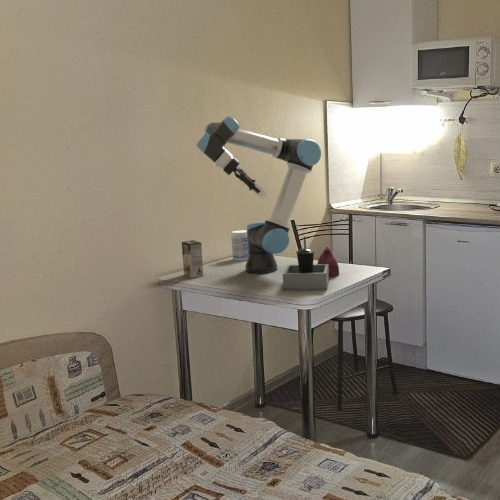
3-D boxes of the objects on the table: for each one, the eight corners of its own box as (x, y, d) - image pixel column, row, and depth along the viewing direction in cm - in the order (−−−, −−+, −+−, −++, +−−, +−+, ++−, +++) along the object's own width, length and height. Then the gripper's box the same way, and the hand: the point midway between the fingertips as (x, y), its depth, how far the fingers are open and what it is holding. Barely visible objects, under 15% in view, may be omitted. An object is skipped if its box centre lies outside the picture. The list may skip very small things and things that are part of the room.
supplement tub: (247, 261, 354) (245, 233, 351) (229, 261, 357) (228, 232, 355) (253, 257, 363) (252, 229, 360) (236, 257, 366) (235, 229, 364)
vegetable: (337, 284, 309) (340, 253, 302) (314, 281, 311) (316, 251, 304) (339, 273, 318) (342, 243, 312) (317, 270, 320) (319, 241, 314)
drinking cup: (296, 281, 299) (294, 235, 296) (313, 280, 300) (311, 234, 297) (299, 285, 292) (297, 238, 288) (317, 284, 293) (315, 237, 289)
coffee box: (183, 275, 330) (180, 241, 327) (195, 273, 333) (193, 239, 330) (191, 278, 322) (189, 244, 319) (204, 276, 326) (201, 242, 323)
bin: (287, 280, 307) (287, 265, 306) (329, 279, 304) (328, 264, 303) (283, 290, 289) (282, 274, 288) (327, 289, 286) (326, 273, 285)
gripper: (222, 167, 313) (257, 199, 316) (221, 171, 288) (259, 205, 291) (233, 155, 312) (268, 186, 315) (233, 157, 287) (271, 192, 290)
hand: (264, 195), depth 303 cm, fingers open, 13 cm apart
